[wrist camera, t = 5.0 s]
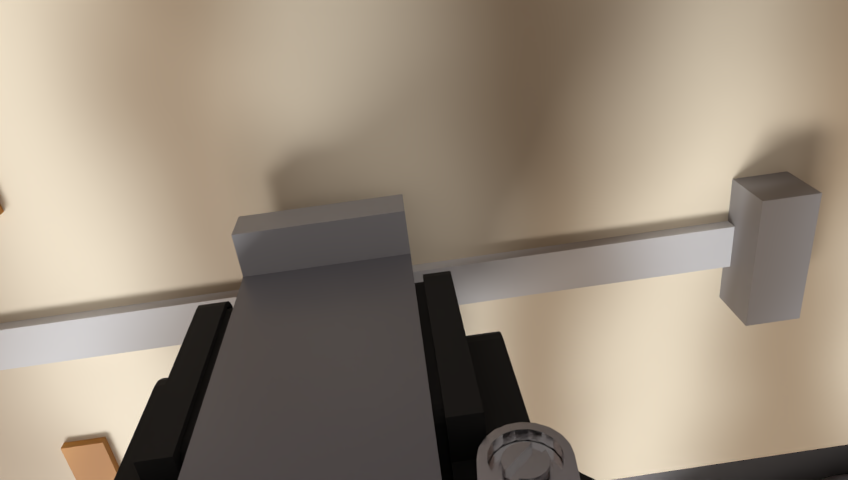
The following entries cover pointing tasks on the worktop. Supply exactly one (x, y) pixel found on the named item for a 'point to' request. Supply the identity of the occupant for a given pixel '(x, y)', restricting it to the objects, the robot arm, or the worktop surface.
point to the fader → (320, 354)
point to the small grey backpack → (837, 477)
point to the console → (441, 203)
